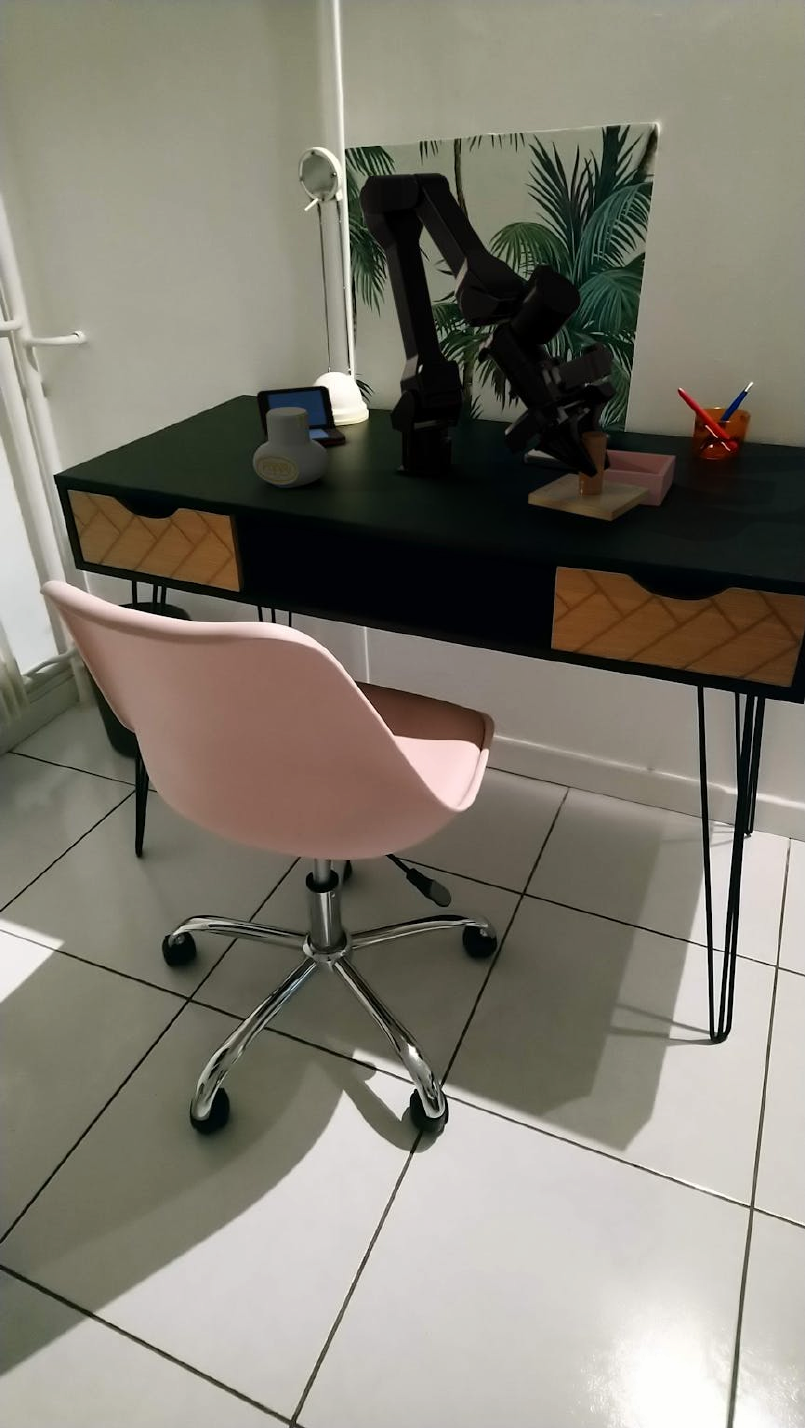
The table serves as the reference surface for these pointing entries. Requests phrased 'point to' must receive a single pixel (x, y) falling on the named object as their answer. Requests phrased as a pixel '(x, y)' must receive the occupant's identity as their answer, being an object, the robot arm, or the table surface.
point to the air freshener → (290, 450)
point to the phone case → (549, 459)
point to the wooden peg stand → (590, 488)
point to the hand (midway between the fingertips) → (601, 471)
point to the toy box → (642, 472)
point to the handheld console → (312, 402)
